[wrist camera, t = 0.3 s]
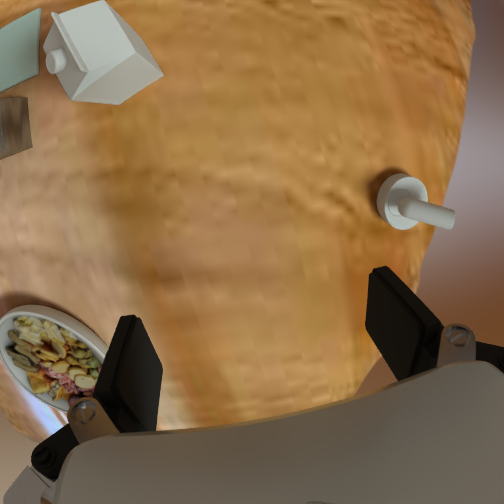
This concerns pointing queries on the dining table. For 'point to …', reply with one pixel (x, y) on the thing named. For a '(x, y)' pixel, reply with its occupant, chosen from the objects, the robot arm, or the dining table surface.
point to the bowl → (51, 354)
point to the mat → (19, 50)
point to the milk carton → (98, 55)
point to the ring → (1, 135)
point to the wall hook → (410, 204)
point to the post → (15, 126)
